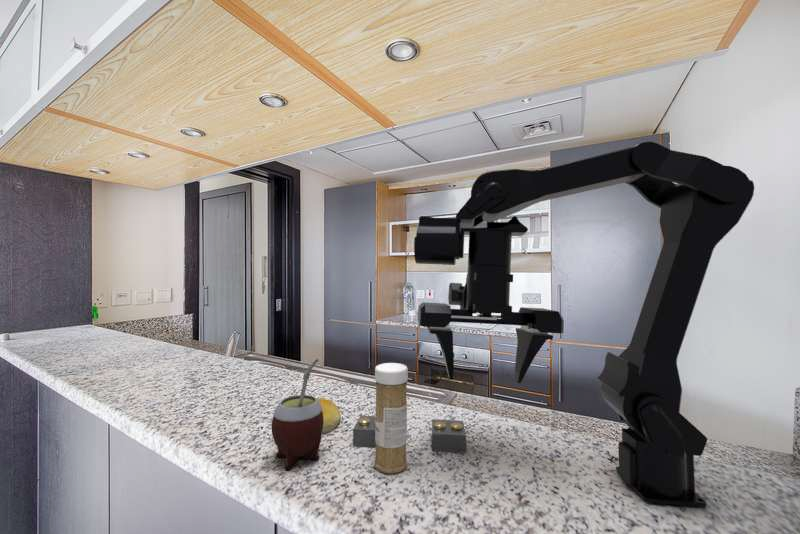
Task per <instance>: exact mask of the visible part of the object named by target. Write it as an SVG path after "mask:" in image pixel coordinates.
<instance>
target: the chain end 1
mask: <svg viewBox="0 0 800 534" xmlns="http://www.w3.org/2000/svg"><path fill="white" fill-rule="evenodd" d="M352 446H353V447H364V448H365V447H367V448H375V447H376V442H375V415H374V416H371V415H360V416H359V418H358V420H357V422H356V423H355V425H354V427H353V428H352Z"/></svg>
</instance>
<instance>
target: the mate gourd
mask: <svg viewBox="0 0 800 534" xmlns="http://www.w3.org/2000/svg"><path fill="white" fill-rule="evenodd" d="M319 361H320V359H319V358H317V359H315V360H314V361H312V362H311V363H310V364H309V366H307V369H306V370H305V371H304V373H303V376H302V378H303V381H302V386H301V391H300V394H299V395H291V396H289V397H286V398H284V399H282V400H280V402H278V404H277V406H275V410H274V412H273V414H272V416H273V417H272V420H271V434H272V439H273V441H274V444H275V446H276V447H277V453H276V454H275V458H276V459H281V460H286V465H285V466H284V471H285V472H291V470H293V469H294V467H295V466H296V465H297V463H298V462H301V461H303V462H319V460H320V455H318V454H319V453H318V452H319V448H320V446H321V443H322V442H321V441H322V435H323V434H322V430H323V422H324V421H323V412H322V406H321V404H320V402H319V401H318V400H317V399H318V398H317V397H315V396H312V395H310V394H306V391H307V390H306V389H307V385H308V382H309V381H308V380H309V379H310V376H311V370H313V368H314V367H315V365H316V364H317V363H318V362H319ZM305 394H306V395H305Z"/></svg>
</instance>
